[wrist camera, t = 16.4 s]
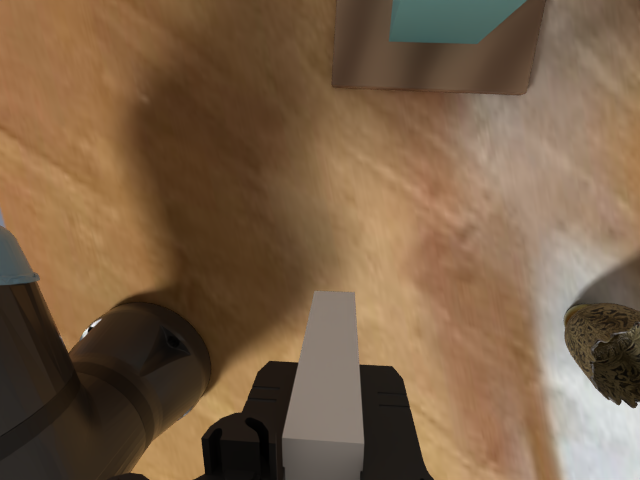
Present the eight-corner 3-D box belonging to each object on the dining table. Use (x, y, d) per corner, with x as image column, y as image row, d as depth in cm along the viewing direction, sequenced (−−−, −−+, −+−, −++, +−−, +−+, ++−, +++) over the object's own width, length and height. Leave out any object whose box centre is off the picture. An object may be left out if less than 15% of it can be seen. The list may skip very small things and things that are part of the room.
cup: (570, 270, 32) (637, 309, 24) (639, 302, 32) (728, 351, 24) (524, 331, 34) (573, 385, 26) (589, 361, 34) (656, 423, 26)
